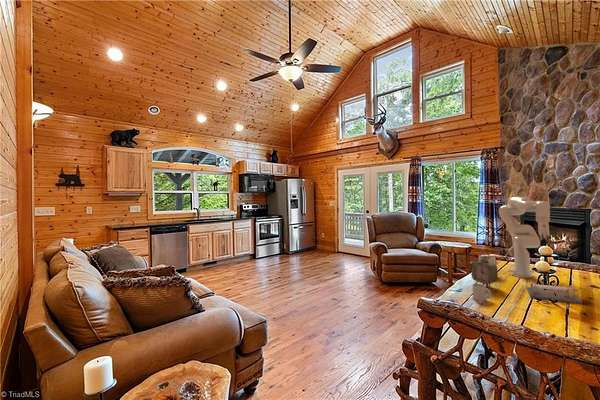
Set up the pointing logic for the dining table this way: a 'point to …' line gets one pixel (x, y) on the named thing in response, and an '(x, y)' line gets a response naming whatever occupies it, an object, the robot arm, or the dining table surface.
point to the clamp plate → (549, 294)
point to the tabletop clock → (484, 271)
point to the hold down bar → (555, 287)
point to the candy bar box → (489, 258)
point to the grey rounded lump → (480, 292)
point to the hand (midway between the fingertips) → (543, 245)
